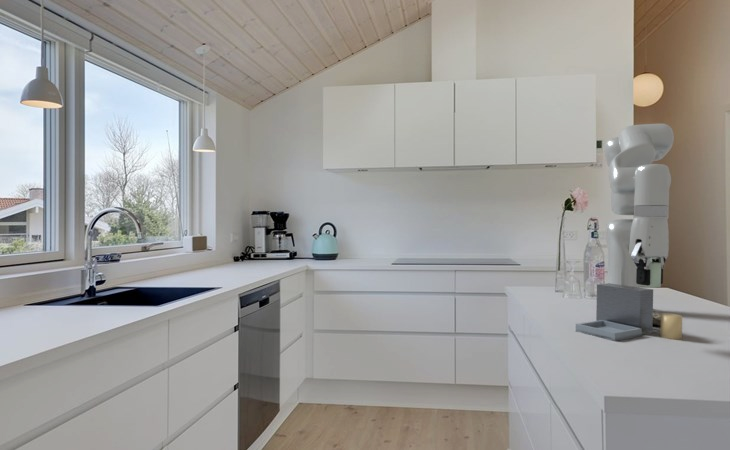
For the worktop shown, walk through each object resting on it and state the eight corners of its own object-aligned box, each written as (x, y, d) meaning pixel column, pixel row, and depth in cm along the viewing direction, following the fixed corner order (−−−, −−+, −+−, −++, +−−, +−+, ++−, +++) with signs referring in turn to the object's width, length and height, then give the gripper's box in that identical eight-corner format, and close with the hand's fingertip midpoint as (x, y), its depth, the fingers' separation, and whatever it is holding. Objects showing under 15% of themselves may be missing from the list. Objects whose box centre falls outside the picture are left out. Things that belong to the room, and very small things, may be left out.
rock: (670, 330, 131) (670, 316, 131) (626, 324, 139) (627, 310, 139) (676, 325, 139) (677, 311, 139) (635, 319, 146) (635, 305, 146)
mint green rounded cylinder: (645, 284, 121) (646, 261, 121) (664, 286, 117) (665, 263, 116) (634, 285, 119) (635, 262, 118) (653, 287, 114) (654, 263, 114)
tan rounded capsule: (666, 334, 127) (667, 312, 126) (685, 338, 122) (686, 316, 122) (656, 336, 124) (657, 314, 124) (675, 340, 120) (676, 317, 120)
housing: (609, 321, 141) (609, 282, 141) (655, 332, 129) (656, 289, 128) (593, 324, 137) (593, 284, 137) (639, 335, 125) (640, 291, 125)
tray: (602, 326, 134) (602, 319, 134) (641, 336, 124) (641, 328, 124) (575, 330, 129) (575, 323, 129) (614, 340, 119) (614, 333, 119)
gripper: (655, 213, 125) (653, 280, 125) (616, 212, 116) (614, 284, 117) (685, 213, 118) (683, 284, 118) (646, 212, 110) (644, 288, 110)
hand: (649, 283), depth 118 cm, fingers closed on mint green rounded cylinder, 4 cm apart
